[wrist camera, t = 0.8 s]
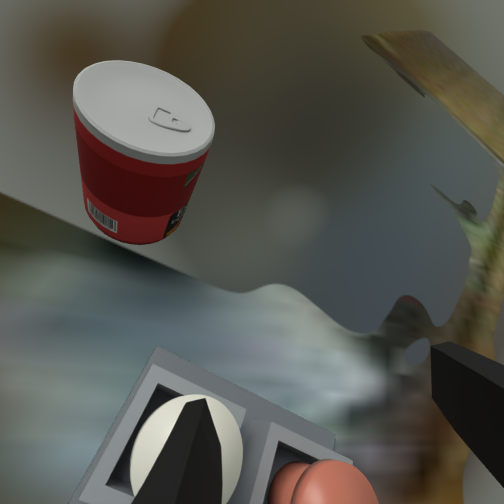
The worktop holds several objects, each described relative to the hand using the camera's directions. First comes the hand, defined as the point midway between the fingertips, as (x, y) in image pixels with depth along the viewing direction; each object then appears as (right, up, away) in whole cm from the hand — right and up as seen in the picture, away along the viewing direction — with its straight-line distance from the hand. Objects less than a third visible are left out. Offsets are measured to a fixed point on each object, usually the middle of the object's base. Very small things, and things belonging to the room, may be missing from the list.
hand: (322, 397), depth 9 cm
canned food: (-13, +8, +17) cm, 23 cm away
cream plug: (-7, -7, +7) cm, 12 cm away
